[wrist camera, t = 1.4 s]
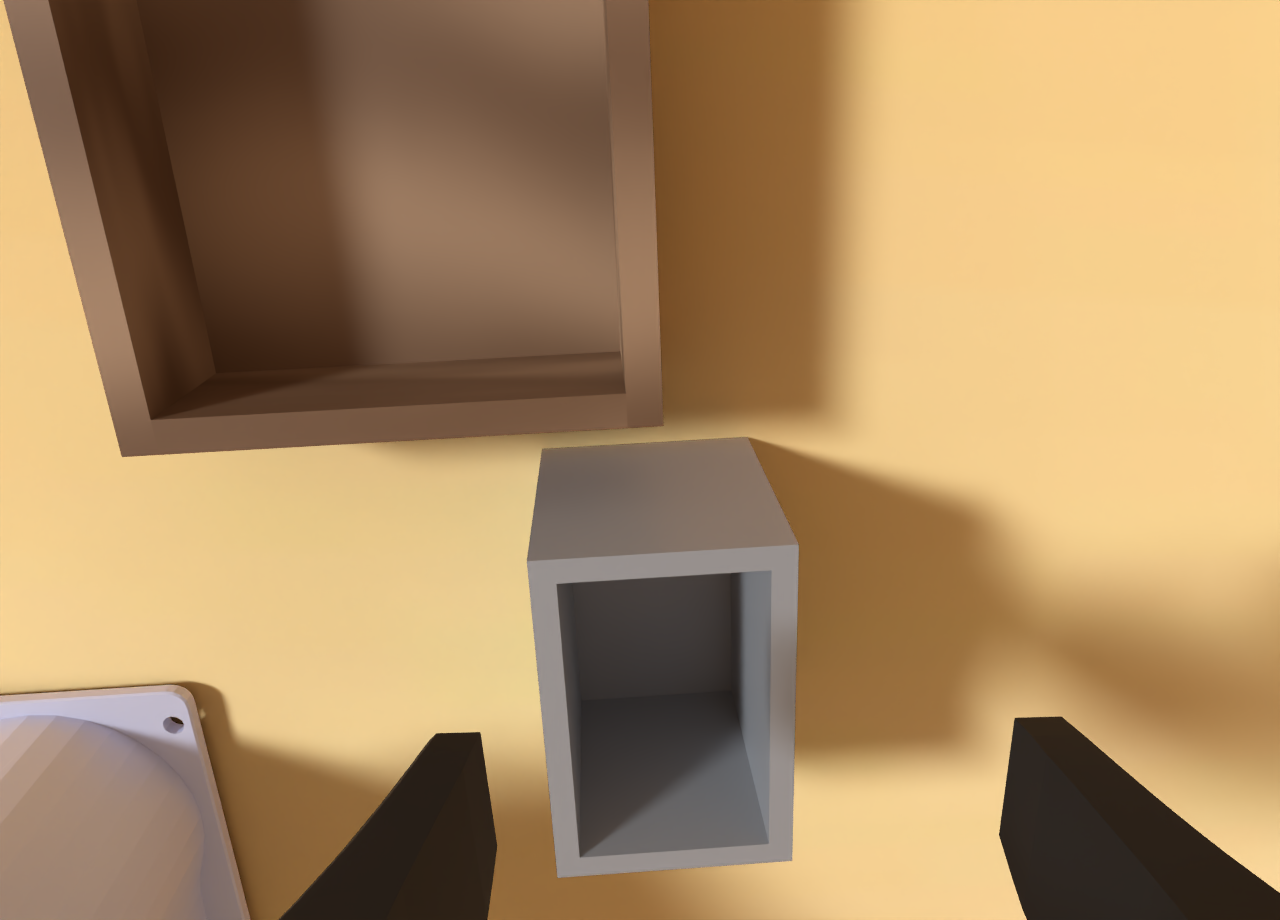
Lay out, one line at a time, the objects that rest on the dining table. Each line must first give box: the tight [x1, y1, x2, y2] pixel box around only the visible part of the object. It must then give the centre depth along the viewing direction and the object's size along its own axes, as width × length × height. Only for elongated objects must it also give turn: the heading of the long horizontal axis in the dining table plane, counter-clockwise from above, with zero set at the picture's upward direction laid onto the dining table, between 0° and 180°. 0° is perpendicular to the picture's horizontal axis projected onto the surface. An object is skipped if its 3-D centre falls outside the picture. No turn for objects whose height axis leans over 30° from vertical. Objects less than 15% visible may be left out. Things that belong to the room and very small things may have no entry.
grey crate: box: [527, 437, 799, 878], centre depth 21 cm, size 8×5×6 cm, turn 3°
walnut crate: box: [4, 0, 663, 457], centre depth 18 cm, size 13×10×4 cm
